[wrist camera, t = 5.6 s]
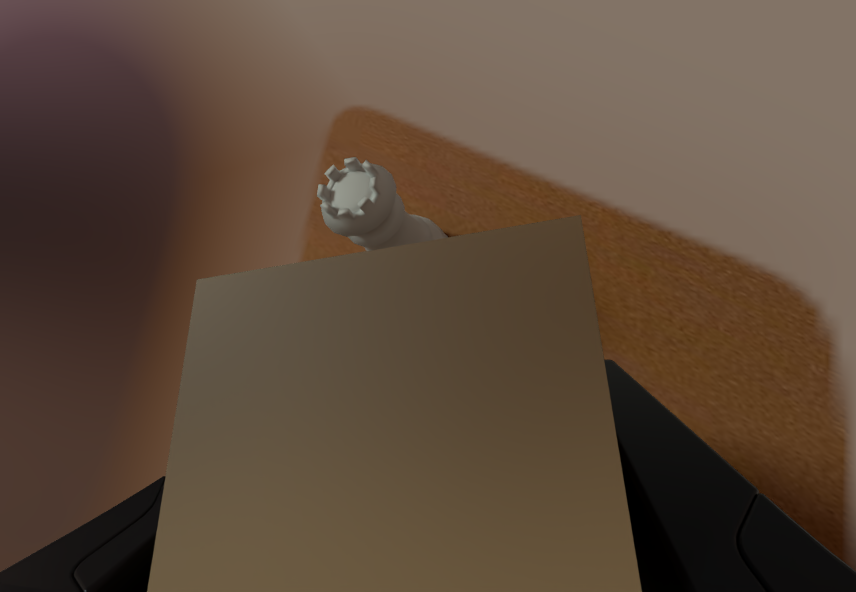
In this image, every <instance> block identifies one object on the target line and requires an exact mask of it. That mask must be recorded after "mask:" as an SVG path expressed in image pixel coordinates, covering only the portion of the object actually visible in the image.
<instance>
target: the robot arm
mask: <svg viewBox="0 0 856 592" xmlns="http://www.w3.org/2000/svg"><path fill="white" fill-rule="evenodd" d="M604 362H605V368H606V374H607V381H608V387H609V393H610V399H611V405H612V411H613V418H614V424H615V430H616V436H617V442H618V448H619V455H620V461H621V467H622V473H623V479H624V485H625V492H626V498H627V504H628V510H629V516H630V522H631V528H632V535H633V541H634V547H635V553H636V559H637V565H638V572H639V578H640V584H641V590H642V592H856V571H855V570H853V569H852V568H851V567H850V566H848V565H847V564H846V563H844V562H843V561H842V560H841V559H839V558H838V557H837V556H835V555H834V554H833V553H832V552H830V551H829V550H828V549H827V548H826V547H824V546H823V545H822V544H821V543H820V542H819V541H817V540H816V539H815V538H814V537H813V536H811V535H810V534H809V533H808V532H807V531H806V530H804V529H803V528H802V527H801V526H800V525H798V524H797V523H796V522H795V521H794V520H793V519H791V518H790V517H789V516H788V515H787V514H786V513H784V512H783V511H782V510H781V509H780V508H779V507H778V506H777V505H775V504H774V503H773V502H772V501H771V500H770V499H769V498H768V497H766V496H765V495H764V494H762V493H759V491H758V489H757V488H756V487H755V486H754V485H753V484H751V483H750V482H749V481H748V480H747V479H746V478H745V477H744V476H742V475H741V474H740V473H739V472H738V471H737V470H736V469H735V468H733V467H732V466H731V465H730V464H729V463H728V462H727V461H725V460H724V459H723V458H722V457H721V456H720V455H719V454H718V453H716V452H715V451H714V450H713V449H712V448H711V447H710V446H709V445H707V444H706V443H705V442H704V441H703V440H702V439H701V438H700V437H698V436H697V435H696V434H695V433H694V432H693V431H692V430H691V429H689V428H688V427H687V426H686V425H685V424H684V423H683V422H682V421H680V420H679V419H678V418H677V417H676V416H675V415H674V414H673V413H671V412H670V411H669V410H668V409H667V408H666V407H665V406H664V405H662V404H661V403H660V402H659V401H658V400H657V399H656V398H655V397H653V396H652V395H651V394H650V393H649V392H648V391H647V390H646V389H644V388H643V387H642V386H641V385H640V384H639V383H638V382H636V381H635V380H634V379H633V378H632V377H631V376H630V375H629V374H627V373H626V372H625V371H624V370H623V369H622V368H621V367H620V366H618V365H617V364H616V363H615V362H614V361H612V360H604ZM165 477H166V476H163V477H162V478H160V479H158V480H157V481H155V482H154V483H152V484H150V485H149V486H147V487H146V488H144V489H143V490H141V491H139V492H138V493H136V494H134V495H133V496H131V497H129V498H128V499H126V500H124V501H123V502H121V503H120V504H118V505H117V506H115V507H113V508H111V509H110V510H108V511H106V512H104V513H103V514H101V515H99V516H98V517H96V518H94V519H93V520H91V521H89V522H87V523H86V524H84V525H82V526H80V527H79V528H77V529H75V530H74V531H72V532H70V533H69V534H66V535H65V536H63V537H61V538H59V539H58V540H56V541H54V542H52V543H51V544H49V545H47V546H45V547H44V548H42V549H40V550H38V551H37V552H35V553H33V554H31V555H30V556H28V557H26V558H24V559H23V560H21V561H19V562H17V563H15V564H14V565H12V566H10V567H9V568H7V569H5V570H3V571H1V572H0V592H147V590H148V583H149V577H150V571H151V565H152V558H153V552H154V546H155V540H156V533H157V527H158V521H159V515H160V508H161V502H162V496H163V490H164V483H165Z"/></svg>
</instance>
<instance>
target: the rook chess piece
mask: <svg viewBox="0 0 856 592" xmlns="http://www.w3.org/2000/svg"><path fill="white" fill-rule="evenodd" d="M344 162H345V166H346V168H344V169H342V170H340V171H338V170H337V168H336V167H335V166H334V165H332V166H331V167H330V168H329V169H328V170H327V171H326V172H325V173H324V174H325V175H326V176H327V177H328V178H329V179H330V181H329V183H328V185H327V186H326V185H318V192H317V196H318V197H319V198H320V199H321V200H322V201H323V203H322V204H321V205H320V206H321V207H322V210H321V211H322V214H323V218H324V221H325V224H326V225H327V226H328V227H329V228H330V229H331V230H332V231H333V232H334V233H337V234H340V235H343V236H346V237H349V238H350V239H351V240H352V241H353V242H354V243H355V244H358V245H361V246H363V247H365V249H366V250H367V251H371V250H377V249H383V248H389V247H395V246H401V245H406V244H412V243H418V242H424V241H430V240H436V239H442V238H448V236H447V235H445V234H444V233H443V231H442V229H440V228H439V227H438V226H437V225H436V224H435V223H434V222H432V221H431V220H429V219H427V218H424V217H420V216H417V215H410V214H408V213H407V212H405V211H404V208H405V207H404V205H403V202H402V199H401V197H400V196H399V195H398V194H396V185H395V182H394V180H393V177H392V174H390V173H389V172H388V171H387V170H386V169H385V168H383V167H382V166H379V165H375V164H371V163H369V162H368V161H367V160H365V162H364V163H363V164H361V163H360V162H359V161H358V159H357V158H356V157H353V158H347V159H344Z"/></svg>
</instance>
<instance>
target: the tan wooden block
mask: <svg viewBox="0 0 856 592" xmlns="http://www.w3.org/2000/svg"><path fill="white" fill-rule="evenodd" d="M147 592H642V590H641V584H640V578H639V572H638V565H637V559H636V553H635V547H634V541H633V535H632V528H631V522H630V516H629V510H628V504H627V498H626V492H625V485H624V479H623V473H622V467H621V461H620V455H619V448H618V442H617V436H616V430H615V424H614V418H613V411H612V405H611V399H610V393H609V387H608V381H607V374H606V368H605V362H604V356H603V350H602V344H601V338H600V331H599V325H598V319H597V313H596V307H595V301H594V294H593V288H592V282H591V276H590V270H589V264H588V257H587V251H586V245H585V239H584V233H583V227H582V221H581V215H579V216H573V217H567V218H561V219H555V220H549V221H543V222H537V223H531V224H525V225H519V226H513V227H507V228H502V229H496V230H490V231H484V232H478V233H472V234H466V235H460V236H454V237H448V238H442V239H436V240H430V241H424V242H418V243H412V244H406V245H401V246H395V247H389V248H383V249H377V250H371V251H365V252H359V253H353V254H347V255H341V256H335V257H329V258H323V259H317V260H311V261H305V262H300V263H294V264H288V265H282V266H276V267H270V268H264V269H258V270H252V271H247V272H240V273H234V274H228V275H222V276H216V277H211V278H205V279H199V280H197V284H196V290H195V296H194V302H193V308H192V315H191V322H190V327H189V333H188V340H187V346H186V353H185V358H184V365H183V371H182V377H181V384H180V390H179V396H178V402H177V408H176V415H175V421H174V428H173V433H172V440H171V446H170V452H169V458H168V465H167V471H166V477H165V483H164V490H163V496H162V502H161V508H160V515H159V521H158V527H157V533H156V540H155V546H154V552H153V558H152V565H151V571H150V577H149V583H148V590H147Z"/></svg>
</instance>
